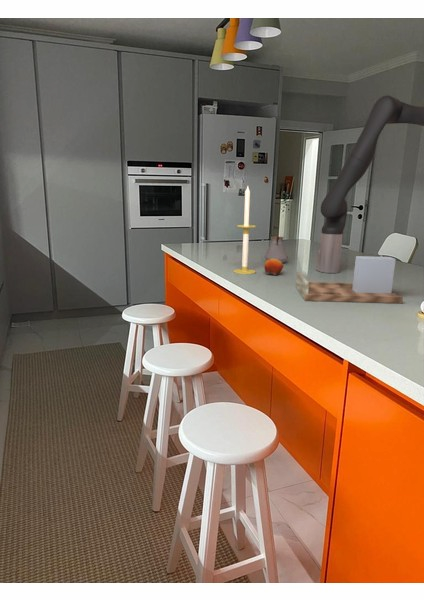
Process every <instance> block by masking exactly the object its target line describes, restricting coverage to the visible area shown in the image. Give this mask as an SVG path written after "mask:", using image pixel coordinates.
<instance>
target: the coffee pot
mask: <svg viewBox="0 0 424 600" xmlns="http://www.w3.org/2000/svg"><path fill="white" fill-rule="evenodd" d="M269 237H270V240H271V242H270V244H269V246H268V249H267V251H266V252H265V255H264V259H265V261H267V260H269V259H277V260H279V261H281V262H282V264H283V265H284V263H285V262H286V261H287V260H288V254H287V252H286V249H285V246H284V243H283V240H284V236H278V235H277V236H269Z"/></svg>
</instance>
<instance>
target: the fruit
mask: <svg viewBox="0 0 424 600" xmlns="http://www.w3.org/2000/svg"><path fill="white" fill-rule="evenodd" d="M283 268H284V263H283V264H282V262H281V261H279V260H277V259H269V260H265V261H264V272H265V274H266V276H267V275H273V276H276V275H280V274H281V272H282V270H283Z"/></svg>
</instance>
